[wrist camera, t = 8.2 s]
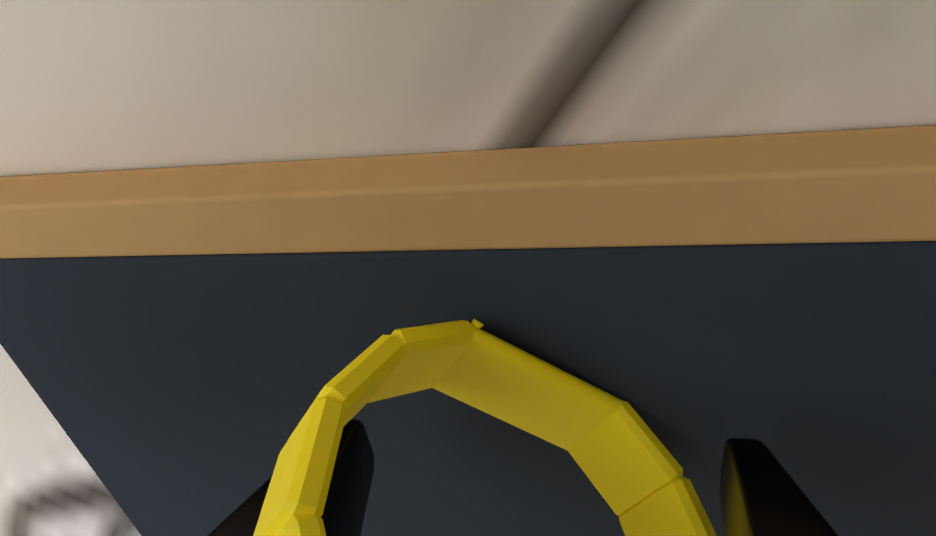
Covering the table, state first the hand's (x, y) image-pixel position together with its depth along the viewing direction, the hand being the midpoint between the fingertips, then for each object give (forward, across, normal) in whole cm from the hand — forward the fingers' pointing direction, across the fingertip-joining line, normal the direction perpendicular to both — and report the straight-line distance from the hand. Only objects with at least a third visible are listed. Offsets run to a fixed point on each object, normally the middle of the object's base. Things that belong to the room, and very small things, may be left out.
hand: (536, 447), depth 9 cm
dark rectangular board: (+2, 0, +3) cm, 4 cm away
